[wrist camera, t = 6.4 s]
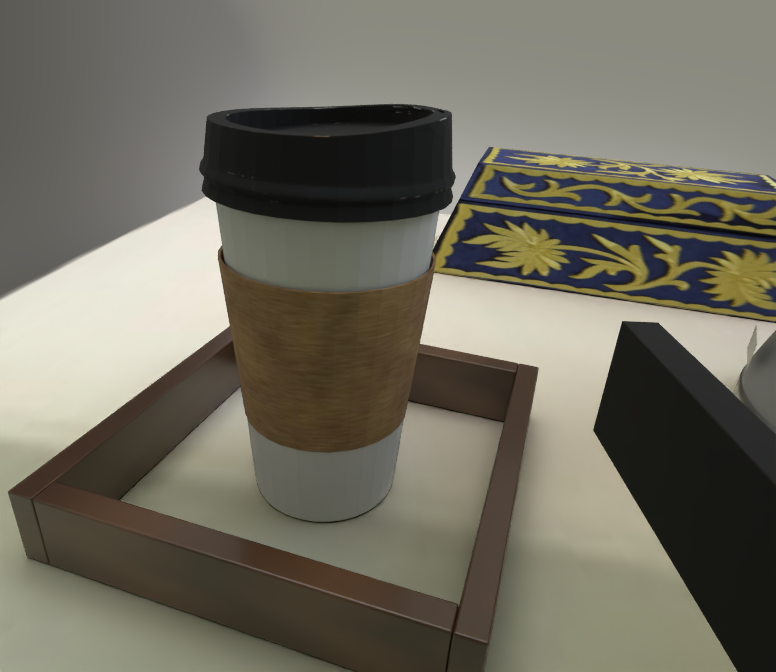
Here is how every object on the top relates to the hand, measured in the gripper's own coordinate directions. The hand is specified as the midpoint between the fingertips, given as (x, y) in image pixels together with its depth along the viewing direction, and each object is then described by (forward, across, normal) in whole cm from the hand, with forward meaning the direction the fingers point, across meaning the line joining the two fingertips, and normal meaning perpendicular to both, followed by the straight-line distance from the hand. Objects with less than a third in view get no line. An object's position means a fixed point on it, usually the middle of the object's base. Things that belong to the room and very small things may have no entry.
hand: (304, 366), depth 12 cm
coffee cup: (+10, 0, -11) cm, 15 cm away
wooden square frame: (+10, 0, -11) cm, 14 cm away
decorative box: (+36, +23, -11) cm, 44 cm away
